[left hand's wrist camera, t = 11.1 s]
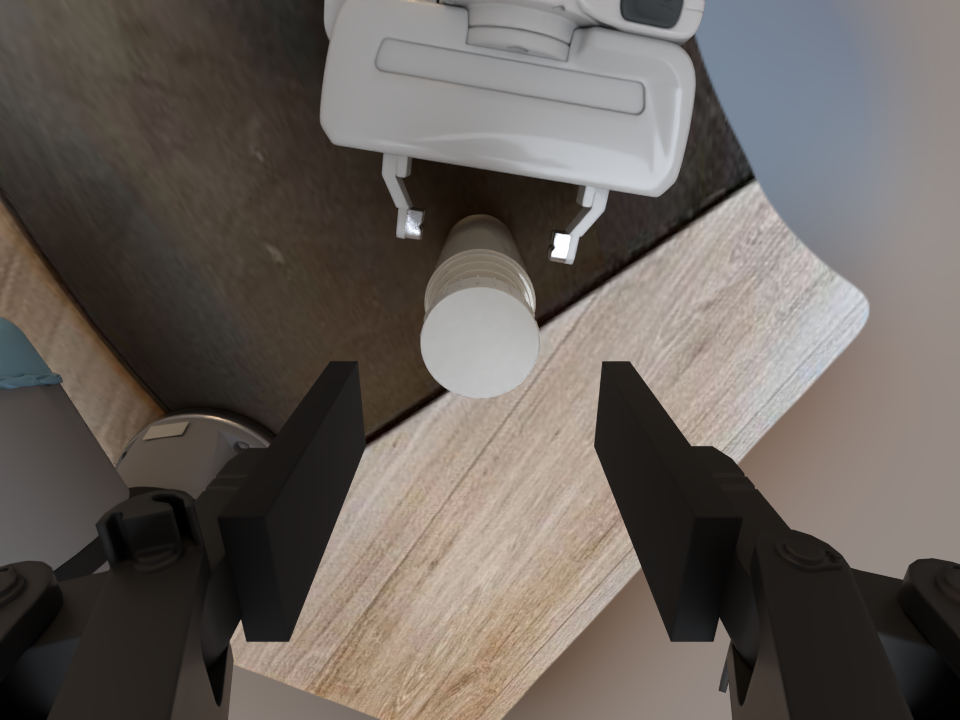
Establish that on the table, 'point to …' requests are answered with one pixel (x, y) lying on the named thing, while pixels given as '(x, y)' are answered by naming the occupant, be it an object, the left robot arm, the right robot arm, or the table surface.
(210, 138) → the table surface
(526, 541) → the table surface
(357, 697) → the table surface
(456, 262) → the bottle
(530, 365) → the cap
